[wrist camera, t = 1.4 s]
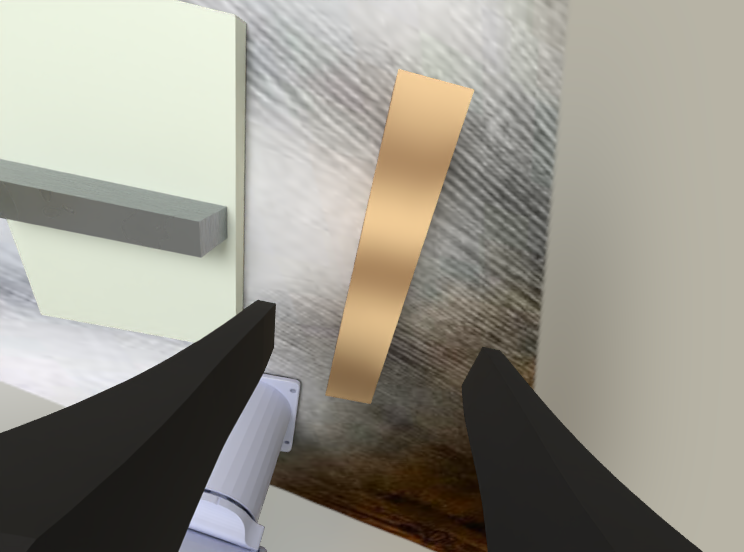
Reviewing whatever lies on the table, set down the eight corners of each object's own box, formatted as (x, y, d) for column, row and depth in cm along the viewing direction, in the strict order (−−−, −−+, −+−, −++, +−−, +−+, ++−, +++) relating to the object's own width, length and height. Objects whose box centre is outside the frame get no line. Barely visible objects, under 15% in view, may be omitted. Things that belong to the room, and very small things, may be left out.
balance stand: (242, 339, 24) (216, 380, 20) (57, 305, 23) (-7, 341, 19) (246, 22, 15) (199, -11, 11) (-61, -54, 14) (-226, -119, 10)
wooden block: (373, 351, 24) (370, 403, 20) (336, 344, 24) (325, 395, 20) (449, 98, 16) (474, 89, 12) (394, 83, 16) (398, 68, 11)
